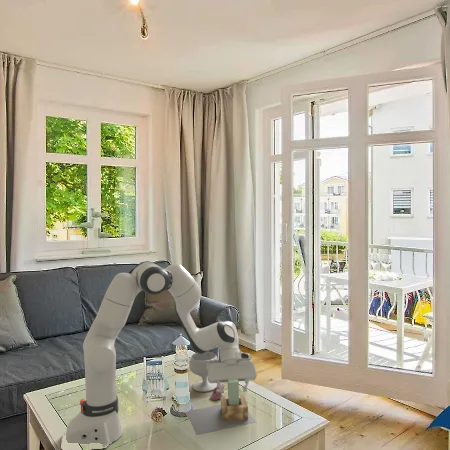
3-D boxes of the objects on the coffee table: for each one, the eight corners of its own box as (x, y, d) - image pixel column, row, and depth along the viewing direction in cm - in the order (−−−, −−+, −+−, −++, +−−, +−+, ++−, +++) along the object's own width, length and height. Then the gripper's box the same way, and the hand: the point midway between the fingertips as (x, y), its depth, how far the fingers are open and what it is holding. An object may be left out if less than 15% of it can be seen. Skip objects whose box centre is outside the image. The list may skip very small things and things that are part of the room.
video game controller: (217, 407, 178) (223, 393, 177) (207, 401, 179) (214, 388, 178) (221, 396, 188) (227, 383, 187) (212, 391, 188) (218, 378, 187)
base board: (196, 438, 152) (196, 434, 152) (186, 414, 169) (186, 411, 169) (256, 425, 159) (256, 421, 159) (240, 404, 177) (240, 400, 176)
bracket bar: (229, 416, 164) (228, 382, 163) (228, 411, 168) (227, 378, 167) (239, 415, 164) (238, 382, 163) (238, 410, 168) (237, 377, 167)
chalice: (219, 393, 187) (218, 361, 186) (188, 394, 187) (187, 362, 187) (219, 379, 201) (218, 350, 200) (191, 380, 201) (190, 350, 201)
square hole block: (223, 421, 161) (222, 408, 160) (221, 408, 171) (220, 396, 170) (248, 419, 162) (247, 407, 161) (244, 406, 172) (244, 395, 171)
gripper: (206, 357, 171) (207, 391, 162) (254, 354, 173) (259, 387, 163) (206, 363, 175) (207, 396, 166) (253, 360, 177) (257, 393, 168)
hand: (233, 392), depth 165 cm, fingers open, 8 cm apart
